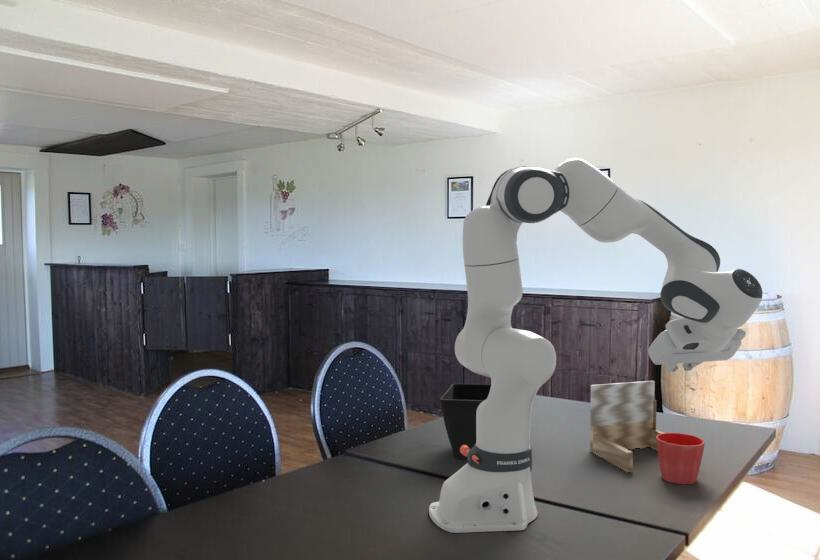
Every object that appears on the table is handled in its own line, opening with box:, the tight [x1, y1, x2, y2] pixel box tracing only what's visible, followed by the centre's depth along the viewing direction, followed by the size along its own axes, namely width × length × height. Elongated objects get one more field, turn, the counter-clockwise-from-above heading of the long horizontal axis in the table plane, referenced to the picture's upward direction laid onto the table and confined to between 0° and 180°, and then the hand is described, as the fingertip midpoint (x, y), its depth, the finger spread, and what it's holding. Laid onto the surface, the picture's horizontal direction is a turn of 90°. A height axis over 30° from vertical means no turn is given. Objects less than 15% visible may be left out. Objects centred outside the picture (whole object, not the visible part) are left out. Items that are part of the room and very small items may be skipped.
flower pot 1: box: [439, 383, 491, 461], centre depth 182 cm, size 19×19×17 cm
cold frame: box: [589, 380, 665, 473], centre depth 177 cm, size 19×18×18 cm
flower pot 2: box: [656, 432, 706, 485], centre depth 162 cm, size 11×11×10 cm
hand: (678, 368), depth 156 cm, fingers open, 3 cm apart
